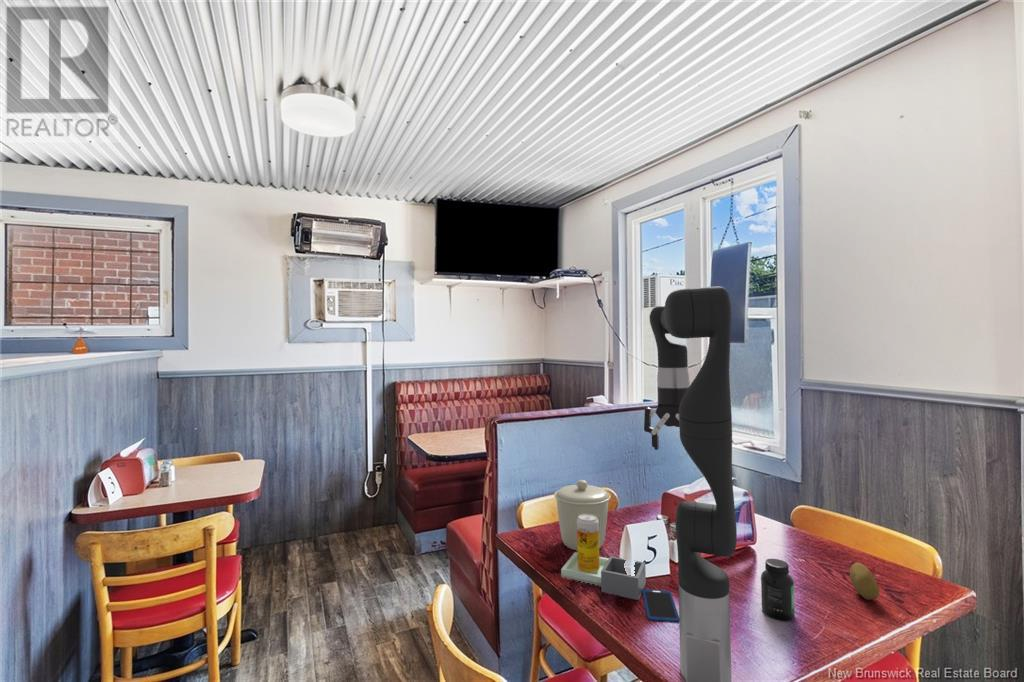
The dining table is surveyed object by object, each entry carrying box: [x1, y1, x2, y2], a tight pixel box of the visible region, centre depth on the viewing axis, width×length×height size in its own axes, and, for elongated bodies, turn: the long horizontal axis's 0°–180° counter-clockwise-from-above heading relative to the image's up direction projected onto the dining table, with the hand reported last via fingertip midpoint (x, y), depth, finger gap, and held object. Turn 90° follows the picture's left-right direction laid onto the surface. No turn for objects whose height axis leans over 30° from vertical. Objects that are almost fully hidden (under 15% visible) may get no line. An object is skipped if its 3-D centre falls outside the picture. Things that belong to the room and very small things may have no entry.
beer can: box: [577, 514, 600, 574], centre depth 134 cm, size 6×6×15 cm
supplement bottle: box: [760, 558, 796, 622], centre depth 112 cm, size 7×7×12 cm
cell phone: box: [641, 588, 679, 624], centre depth 117 cm, size 7×14×1 cm, turn 171°
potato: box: [849, 562, 880, 601], centre depth 119 cm, size 7×8×8 cm
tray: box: [560, 551, 610, 587], centre depth 134 cm, size 12×12×2 cm
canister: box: [553, 479, 611, 552], centre depth 152 cm, size 18×18×21 cm
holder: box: [600, 555, 647, 601], centre depth 126 cm, size 10×10×6 cm
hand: (674, 450), depth 117 cm, fingers open, 8 cm apart
